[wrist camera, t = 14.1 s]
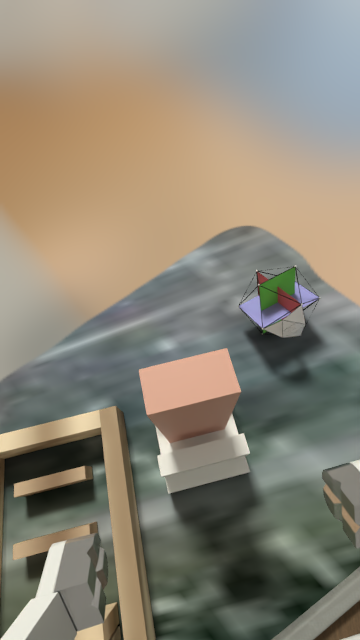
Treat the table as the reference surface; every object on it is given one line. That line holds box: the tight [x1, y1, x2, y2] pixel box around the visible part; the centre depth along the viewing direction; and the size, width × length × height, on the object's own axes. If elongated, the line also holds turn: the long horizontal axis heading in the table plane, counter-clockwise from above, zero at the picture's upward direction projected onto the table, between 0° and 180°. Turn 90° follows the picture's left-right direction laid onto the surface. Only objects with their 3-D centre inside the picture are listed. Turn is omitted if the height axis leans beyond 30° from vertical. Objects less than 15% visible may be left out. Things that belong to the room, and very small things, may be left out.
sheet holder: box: [156, 414, 250, 494], centre depth 27 cm, size 7×10×4 cm
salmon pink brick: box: [139, 348, 241, 443], centre depth 22 cm, size 5×2×13 cm, turn 103°
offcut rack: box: [0, 406, 156, 640], centre depth 23 cm, size 13×20×5 cm, turn 13°
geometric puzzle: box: [238, 266, 321, 338], centre depth 31 cm, size 7×7×8 cm
